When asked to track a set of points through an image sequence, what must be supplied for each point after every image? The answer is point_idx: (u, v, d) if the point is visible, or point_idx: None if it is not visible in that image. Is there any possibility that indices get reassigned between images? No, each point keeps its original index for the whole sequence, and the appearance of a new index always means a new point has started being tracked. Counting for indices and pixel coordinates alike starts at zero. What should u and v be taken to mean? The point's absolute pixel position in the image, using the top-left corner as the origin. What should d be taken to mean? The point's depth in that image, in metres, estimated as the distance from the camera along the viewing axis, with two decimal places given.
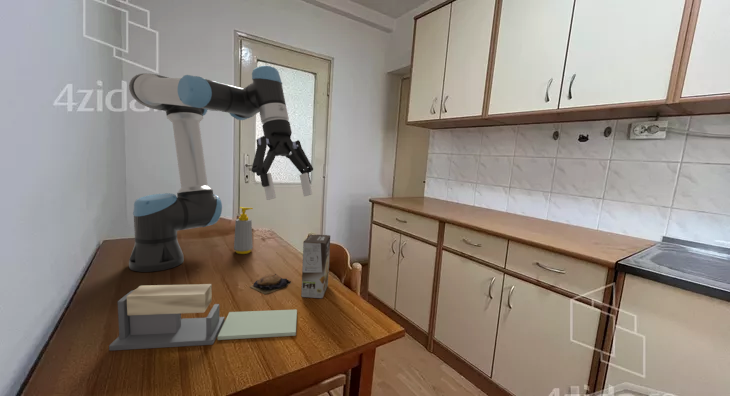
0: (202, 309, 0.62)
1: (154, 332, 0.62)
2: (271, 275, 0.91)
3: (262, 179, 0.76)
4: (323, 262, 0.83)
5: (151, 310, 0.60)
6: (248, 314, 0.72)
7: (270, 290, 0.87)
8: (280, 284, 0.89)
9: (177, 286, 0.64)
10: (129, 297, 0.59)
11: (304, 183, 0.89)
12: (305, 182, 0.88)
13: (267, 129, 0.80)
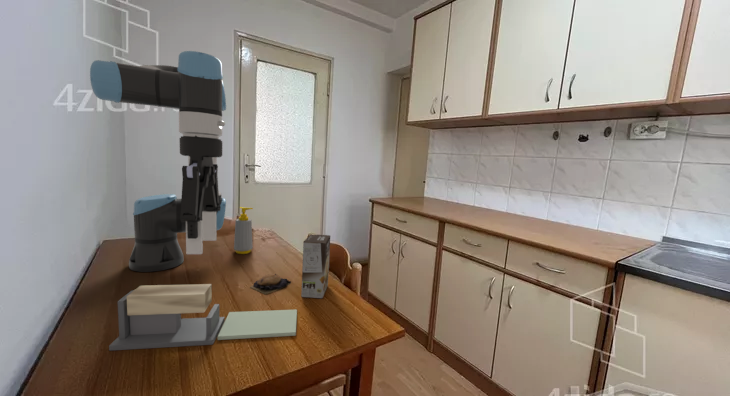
0: (202, 309, 0.62)
1: (154, 332, 0.62)
2: (271, 275, 0.90)
3: (191, 229, 0.56)
4: (323, 262, 0.83)
5: (151, 310, 0.60)
6: (248, 314, 0.72)
7: (270, 290, 0.87)
8: (280, 284, 0.89)
9: (177, 286, 0.64)
10: (129, 297, 0.59)
11: (208, 224, 0.66)
12: (210, 224, 0.66)
13: (197, 148, 0.57)
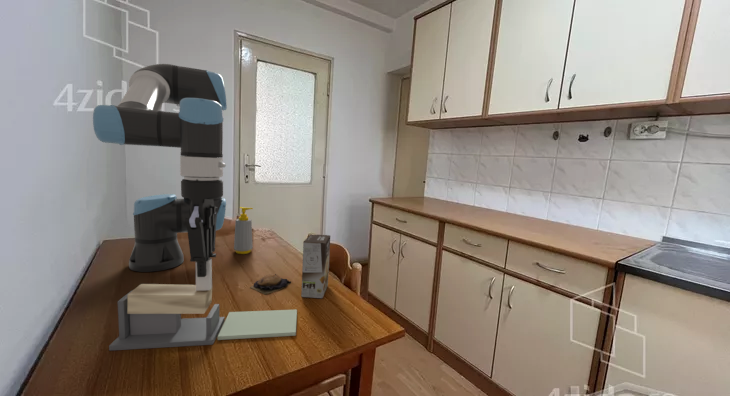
0: (202, 310, 0.62)
1: (154, 332, 0.62)
2: (271, 275, 0.90)
3: (200, 268, 0.61)
4: (323, 262, 0.83)
5: (151, 309, 0.60)
6: (248, 314, 0.72)
7: (270, 290, 0.86)
8: (280, 284, 0.89)
9: (178, 286, 0.64)
10: (130, 295, 0.59)
11: None
12: None
13: (198, 192, 0.58)
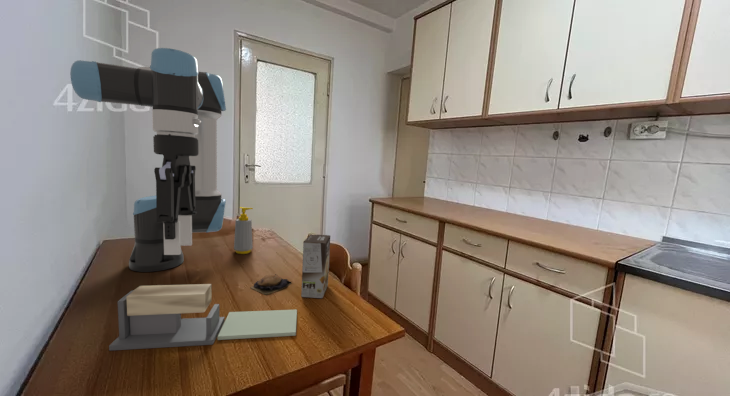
0: (202, 309, 0.62)
1: (154, 332, 0.62)
2: (271, 275, 0.90)
3: (168, 230, 0.57)
4: (323, 262, 0.83)
5: (151, 310, 0.60)
6: (248, 314, 0.72)
7: (271, 291, 0.86)
8: (281, 285, 0.89)
9: (177, 286, 0.64)
10: (129, 297, 0.59)
11: (183, 229, 0.64)
12: (185, 228, 0.64)
13: (170, 147, 0.56)
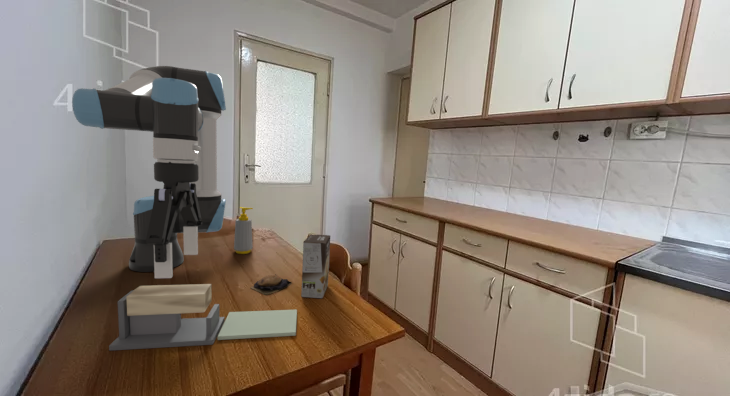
0: (202, 309, 0.62)
1: (154, 332, 0.62)
2: (271, 275, 0.90)
3: (159, 252, 0.53)
4: (323, 262, 0.83)
5: (151, 310, 0.60)
6: (248, 314, 0.72)
7: (271, 291, 0.86)
8: (281, 285, 0.89)
9: (177, 286, 0.64)
10: (129, 297, 0.59)
11: (189, 239, 0.68)
12: (192, 238, 0.68)
13: (171, 175, 0.56)
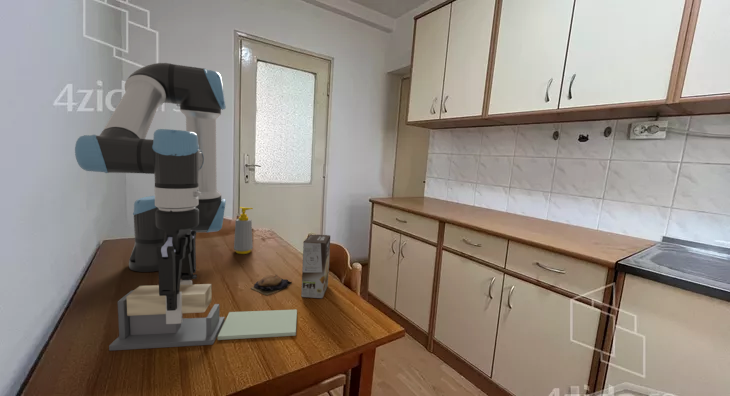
0: (202, 309, 0.62)
1: (154, 332, 0.62)
2: (271, 276, 0.90)
3: (170, 302, 0.59)
4: (323, 262, 0.83)
5: (151, 310, 0.60)
6: (248, 314, 0.72)
7: (271, 291, 0.86)
8: (281, 285, 0.89)
9: None
10: (128, 297, 0.59)
11: None
12: None
13: (172, 223, 0.57)
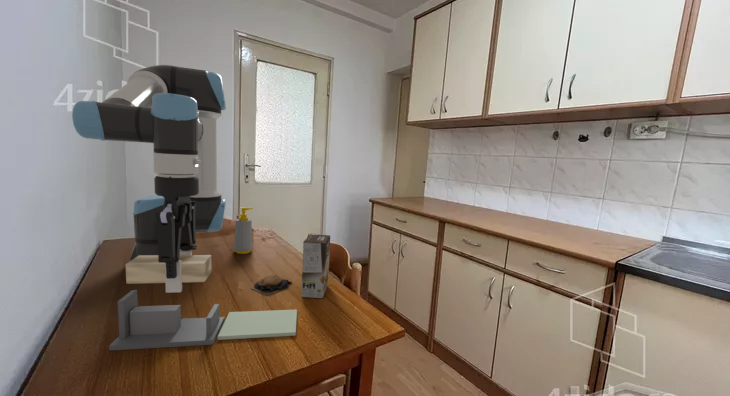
0: (202, 278, 0.62)
1: (154, 332, 0.62)
2: (271, 276, 0.90)
3: (169, 270, 0.58)
4: (323, 262, 0.83)
5: (150, 278, 0.60)
6: (248, 314, 0.72)
7: (271, 291, 0.86)
8: (281, 285, 0.89)
9: None
10: (128, 265, 0.58)
11: None
12: None
13: (171, 189, 0.57)
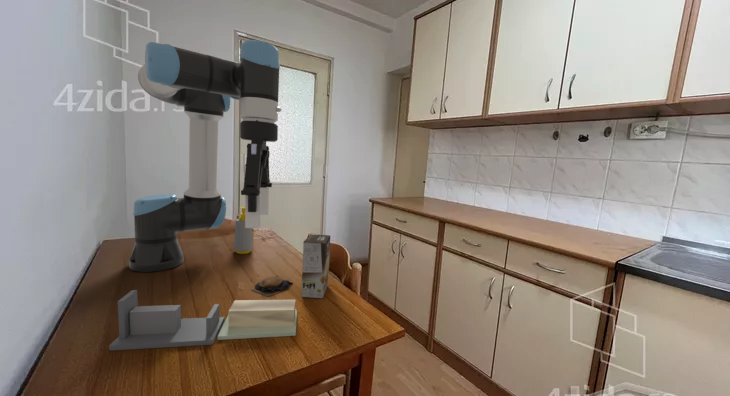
0: (292, 323, 0.68)
1: (154, 332, 0.62)
2: (272, 277, 0.89)
3: (251, 203, 0.57)
4: (323, 262, 0.83)
5: (248, 324, 0.67)
6: None
7: (272, 292, 0.85)
8: (282, 286, 0.88)
9: (267, 301, 0.71)
10: (230, 311, 0.66)
11: (261, 199, 0.72)
12: (264, 199, 0.72)
13: (258, 132, 0.60)
